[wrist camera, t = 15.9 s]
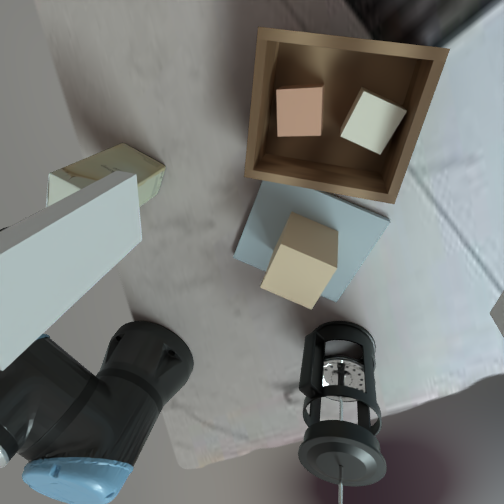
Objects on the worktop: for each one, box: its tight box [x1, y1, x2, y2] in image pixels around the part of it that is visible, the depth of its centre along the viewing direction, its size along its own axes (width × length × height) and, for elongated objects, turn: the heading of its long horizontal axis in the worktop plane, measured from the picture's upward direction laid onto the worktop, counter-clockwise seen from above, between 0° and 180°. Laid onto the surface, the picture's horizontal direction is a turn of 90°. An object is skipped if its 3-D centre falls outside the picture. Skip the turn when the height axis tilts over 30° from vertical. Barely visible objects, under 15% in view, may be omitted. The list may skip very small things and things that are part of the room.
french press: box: [298, 321, 386, 504], centre depth 39 cm, size 12×9×23 cm
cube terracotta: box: [276, 83, 325, 137], centre depth 32 cm, size 4×4×4 cm
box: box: [244, 27, 450, 204], centre depth 31 cm, size 14×12×7 cm
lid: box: [233, 180, 390, 310], centre depth 38 cm, size 15×13×9 cm
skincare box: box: [46, 143, 165, 207], centre depth 37 cm, size 6×4×12 cm
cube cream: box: [340, 87, 407, 155], centre depth 31 cm, size 4×4×4 cm
